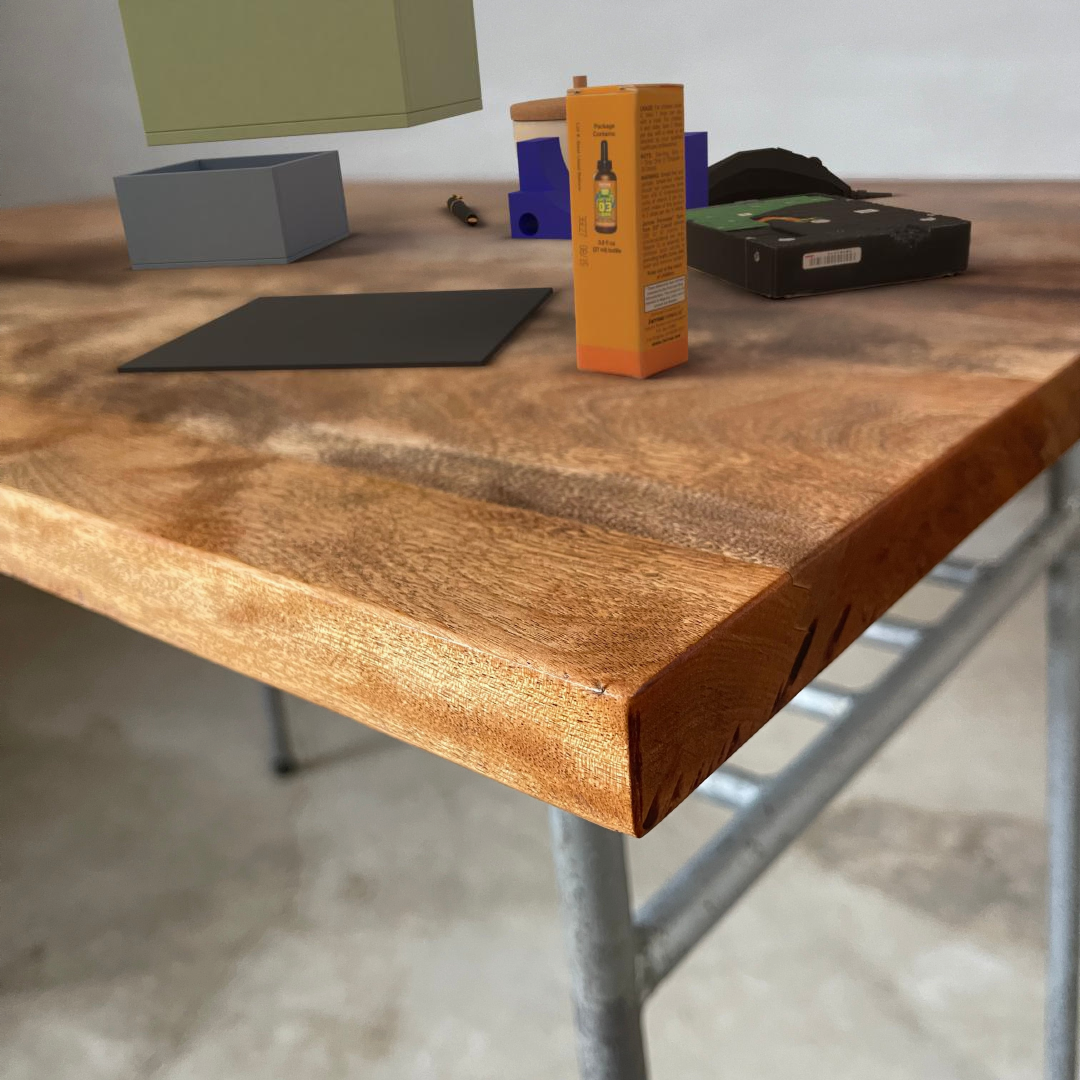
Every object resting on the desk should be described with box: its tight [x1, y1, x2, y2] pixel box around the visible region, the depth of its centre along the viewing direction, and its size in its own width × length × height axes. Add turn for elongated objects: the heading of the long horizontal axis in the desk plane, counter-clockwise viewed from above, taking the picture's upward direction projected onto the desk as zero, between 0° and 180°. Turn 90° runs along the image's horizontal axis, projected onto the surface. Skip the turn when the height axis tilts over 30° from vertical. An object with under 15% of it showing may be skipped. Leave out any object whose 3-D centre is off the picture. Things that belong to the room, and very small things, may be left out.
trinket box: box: [509, 74, 588, 171], centre depth 84 cm, size 11×11×9 cm
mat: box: [116, 287, 554, 374], centre depth 52 cm, size 16×14×1 cm
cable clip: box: [507, 130, 709, 240], centre depth 71 cm, size 12×4×6 cm, turn 60°
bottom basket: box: [112, 149, 351, 271], centre depth 76 cm, size 11×11×6 cm
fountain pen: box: [446, 193, 479, 227], centre depth 84 cm, size 14×1×2 cm, turn 11°
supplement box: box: [565, 82, 689, 380], centre depth 40 cm, size 3×3×10 cm
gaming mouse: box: [708, 146, 893, 207], centre depth 78 cm, size 6×15×4 cm, turn 89°
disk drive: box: [686, 193, 972, 299], centre depth 57 cm, size 10×3×15 cm
